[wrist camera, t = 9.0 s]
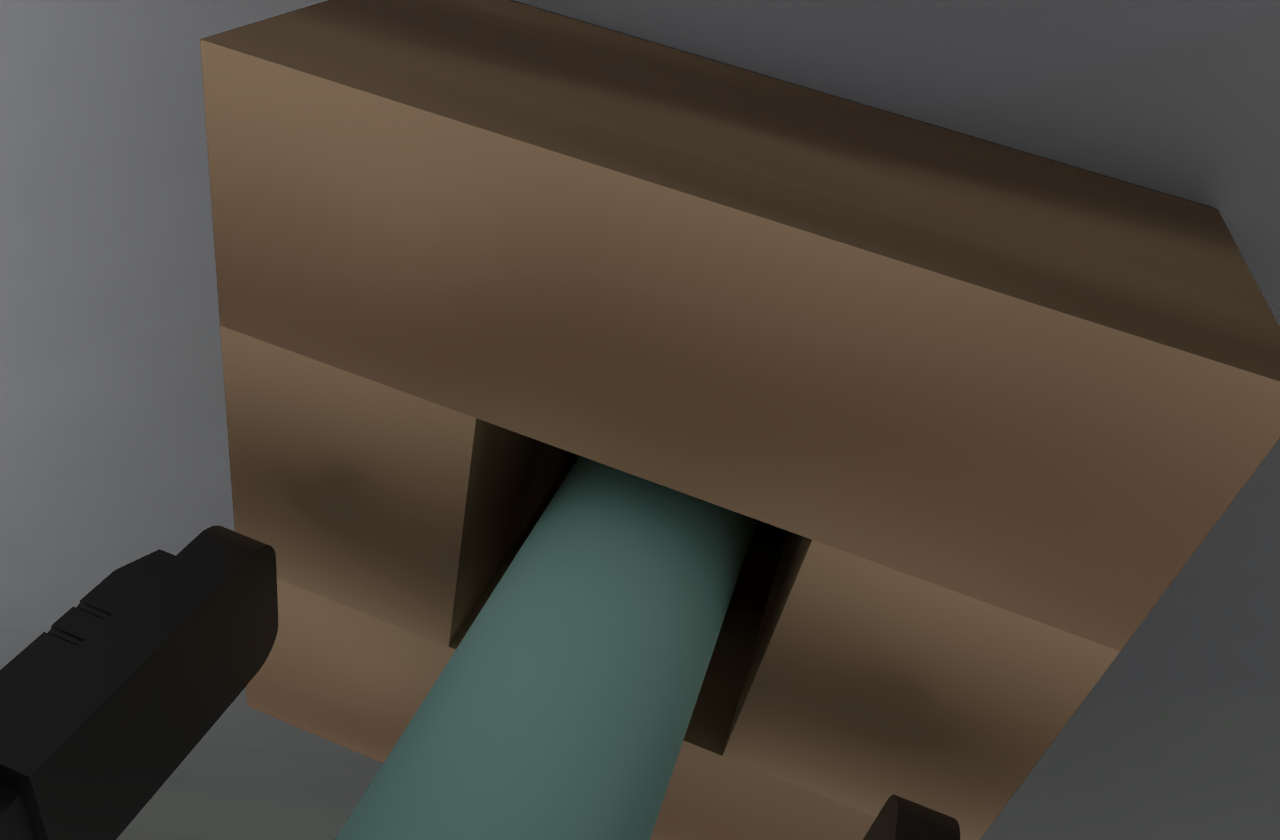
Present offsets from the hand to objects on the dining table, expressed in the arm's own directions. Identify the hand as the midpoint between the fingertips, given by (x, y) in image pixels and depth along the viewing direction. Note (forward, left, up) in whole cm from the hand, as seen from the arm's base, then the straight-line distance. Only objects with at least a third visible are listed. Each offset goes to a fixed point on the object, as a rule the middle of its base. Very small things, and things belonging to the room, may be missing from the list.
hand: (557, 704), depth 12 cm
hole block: (0, 0, -7) cm, 7 cm away
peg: (0, 0, -7) cm, 7 cm away
